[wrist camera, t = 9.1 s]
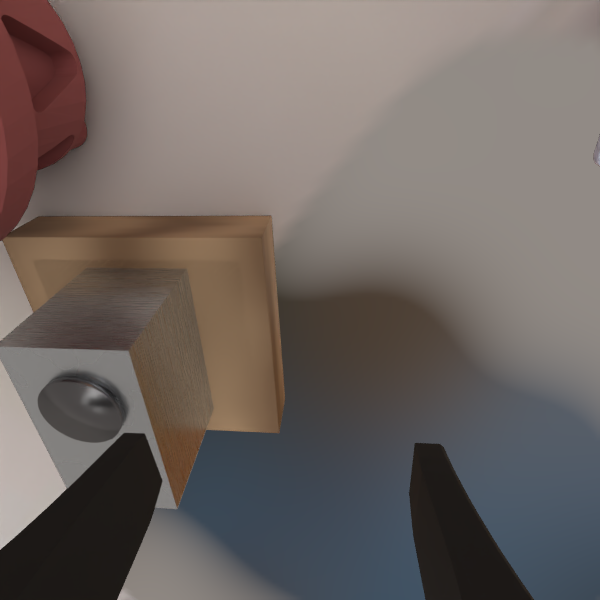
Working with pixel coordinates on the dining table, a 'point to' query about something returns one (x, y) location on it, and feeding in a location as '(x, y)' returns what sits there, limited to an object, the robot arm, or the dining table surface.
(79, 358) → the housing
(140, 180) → the dining table surface
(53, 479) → the dining table surface
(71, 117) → the mechanical component
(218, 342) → the stand
